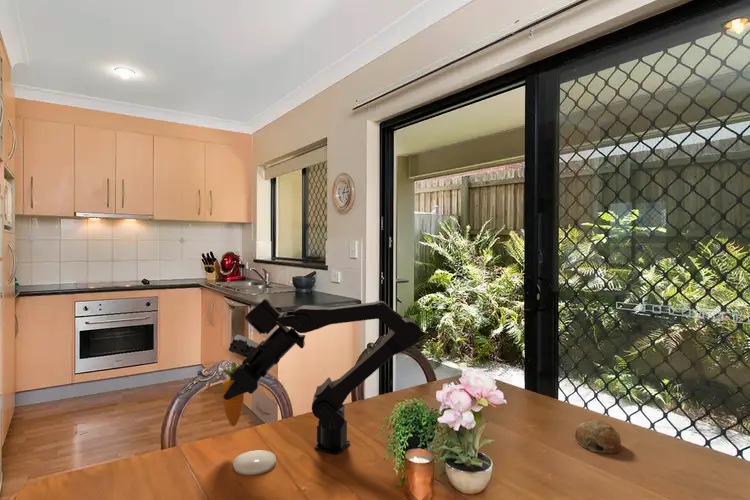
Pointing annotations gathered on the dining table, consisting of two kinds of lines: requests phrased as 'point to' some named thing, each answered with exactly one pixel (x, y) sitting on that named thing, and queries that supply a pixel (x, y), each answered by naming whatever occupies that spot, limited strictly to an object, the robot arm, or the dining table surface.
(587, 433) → the bread roll
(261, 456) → the smooth white pebble
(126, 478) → the dining table surface
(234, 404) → the carrot
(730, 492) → the dining table surface
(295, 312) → the robot arm
